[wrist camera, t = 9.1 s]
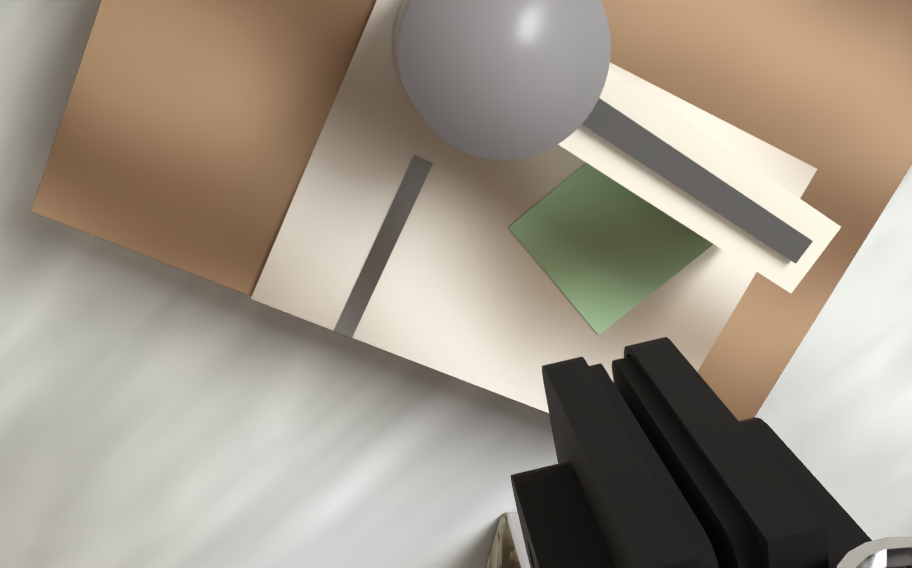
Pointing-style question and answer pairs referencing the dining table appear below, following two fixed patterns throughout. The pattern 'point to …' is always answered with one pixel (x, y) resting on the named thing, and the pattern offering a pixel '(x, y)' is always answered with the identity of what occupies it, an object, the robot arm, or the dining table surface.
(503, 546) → the coffee box
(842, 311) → the dining table surface
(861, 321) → the dining table surface
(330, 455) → the dining table surface
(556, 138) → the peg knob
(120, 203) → the board
